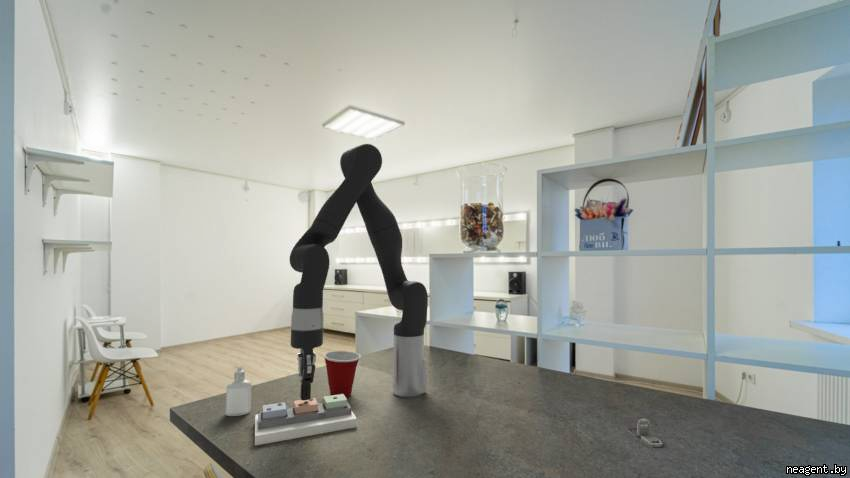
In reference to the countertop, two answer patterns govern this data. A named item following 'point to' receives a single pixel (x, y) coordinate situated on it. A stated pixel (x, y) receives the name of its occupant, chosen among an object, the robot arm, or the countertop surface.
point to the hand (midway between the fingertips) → (305, 398)
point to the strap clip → (645, 434)
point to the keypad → (303, 423)
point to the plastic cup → (341, 371)
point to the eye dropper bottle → (238, 395)
